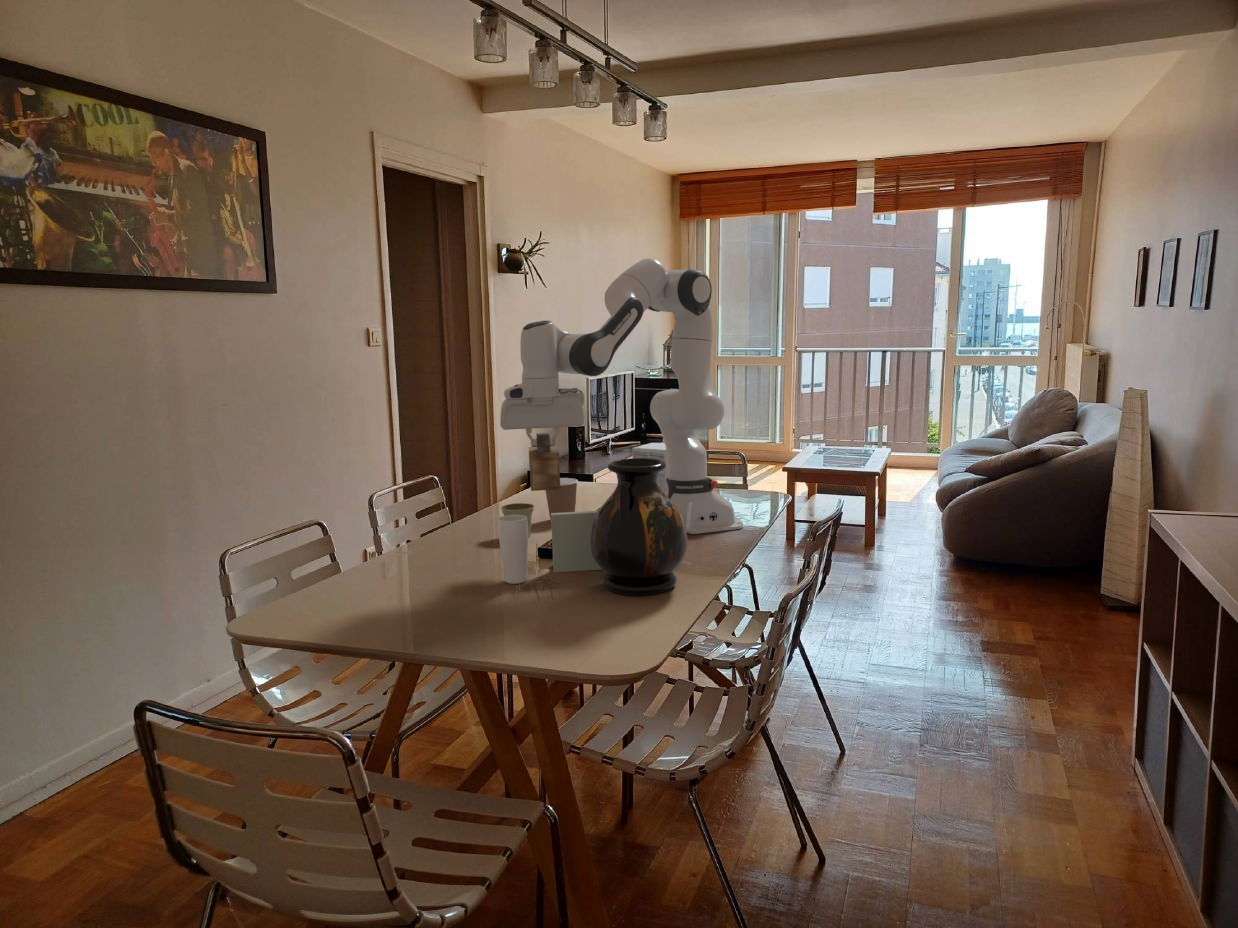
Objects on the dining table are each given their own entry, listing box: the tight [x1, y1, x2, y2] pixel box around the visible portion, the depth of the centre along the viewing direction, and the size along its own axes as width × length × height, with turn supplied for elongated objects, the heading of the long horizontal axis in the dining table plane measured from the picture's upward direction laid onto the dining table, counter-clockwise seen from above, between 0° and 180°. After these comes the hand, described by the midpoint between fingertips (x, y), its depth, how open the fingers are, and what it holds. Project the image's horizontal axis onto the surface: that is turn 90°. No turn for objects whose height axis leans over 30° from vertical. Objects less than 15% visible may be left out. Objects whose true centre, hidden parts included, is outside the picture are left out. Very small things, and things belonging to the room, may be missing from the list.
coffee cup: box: [545, 477, 579, 520], centre depth 255 cm, size 10×10×12 cm
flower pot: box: [500, 502, 536, 538], centre depth 237 cm, size 9×9×9 cm
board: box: [550, 510, 602, 573], centre depth 206 cm, size 16×6×14 cm, turn 97°
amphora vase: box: [591, 458, 689, 596], centre depth 188 cm, size 22×22×28 cm
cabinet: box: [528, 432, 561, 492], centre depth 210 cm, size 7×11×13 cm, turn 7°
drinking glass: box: [497, 515, 529, 585], centre depth 196 cm, size 7×7×15 cm
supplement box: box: [631, 442, 668, 496], centre depth 283 cm, size 13×13×18 cm
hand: (543, 446), depth 208 cm, fingers closed on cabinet, 3 cm apart
